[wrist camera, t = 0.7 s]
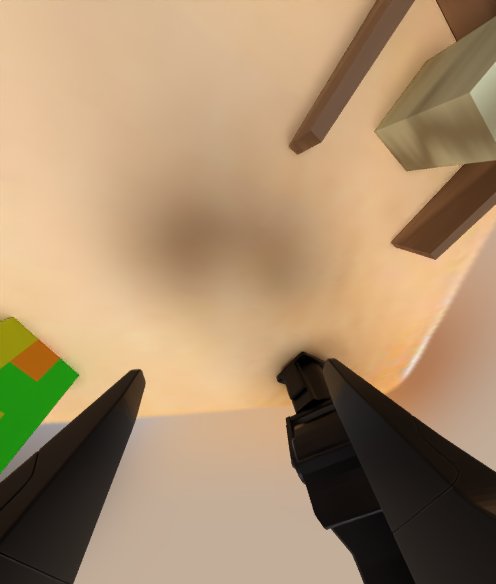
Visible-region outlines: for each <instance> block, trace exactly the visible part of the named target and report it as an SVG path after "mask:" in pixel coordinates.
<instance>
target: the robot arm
mask: <svg viewBox="0 0 496 584" xmlns="http://www.w3.org/2000/svg"><path fill="white" fill-rule="evenodd" d="M277 381H278V382H280V383H283V384H285V385H286V387H287V391H288V394H289V397H290V399H291V400H292V403H293V406H294V409H295V412H296V414H295V415H294V416H291V417H290V416H289V417H287V418H286V424H287V425H286V428H287V435H288V442H289V450H290V456H291V463H292V466H293V468H295V469H296V471H297V473H298V476H299V477H300V479H301V481H302V482H303V483H304V484H306V487H307V490H308V494H309V497H310V500H311V503H312V507H313V510H314V513H315V515H316V517H317V519H318V520H319V521H320V523H321V524H322V526H323V527H324V528H325V529H326V530H327V529H330V528H331V529H332V531H333V532H334V533H335V534H336V535H337V536H338V538H339V539H340V540H341V542H342V543H343V544H344V545H345V546H346V548H347V549H348V550H349V551H350V552H351V554H352V555H353V558H354V560H355V562H356V565H357V567H358V570H359V572H360V575H361V577H362V580H363V582H364V584H496V472H495V471H493V470H492V469H490V468H489V467H487V466H486V465H484V464H483V463H481V462H480V461H478V460H477V459H475V458H474V457H472V456H471V455H469V454H468V453H466V452H465V451H463V450H461V449H460V448H459V447H457V446H456V445H454V444H453V443H451V442H450V441H448V440H447V439H445V438H444V437H442V436H441V435H439V434H438V433H437V432H435V431H434V430H432V429H431V428H429V427H428V426H427V425H425V424H424V423H422V422H421V421H420V420H418V419H417V418H416V417H414V416H412V415H411V414H410V413H409V412H407V411H406V410H405V409H403V408H402V407H401V406H399V405H398V404H397V403H395V402H394V401H392V400H391V399H390V398H388V397H387V396H386V395H384V394H383V393H382V392H380V391H379V390H378V389H376V388H375V387H373V386H372V385H371V384H369V383H368V382H367V381H365V380H364V379H363V378H361V377H360V376H359V375H357V374H356V373H354V372H353V371H352V370H350V369H349V368H348V367H346V366H345V365H344V364H342V363H341V362H339V361H338V360H337V359H335V358H329V359H326V362H324V361H322V360H320V359H318V358H315V357H313V356H311V355H309V354H307V353H304V352H302V353H300V354H299V355H298V356H297V357H296V358H295V359H294V360H293V361H292V362H291V363H290V364H289V366H288V367H287V368H286V369H285V370H284V371H283V372H282V373H281V374H280V375H279V376H278V377H277ZM144 388H145V378H144V375H143V372H142V370H141V369H134V370H131V371H129V372H128V373H127V374H126V375H125V376H123V377H122V378H121V379H120V380H119V381H118V382H116V383H115V384H114V385H113V386H112V387H111V388H110V389H108V390H107V391H106V392H105V393H104V394H103V395H101V396H100V397H99V398H98V399H97V400H96V401H95V402H93V403H92V404H91V405H90V406H89V407H88V408H86V409H85V410H84V411H83V412H82V413H81V414H80V415H78V416H77V417H76V418H75V419H74V420H73V421H71V422H70V423H69V424H68V425H67V426H66V427H65V428H63V429H62V430H61V431H60V432H59V433H58V434H57V435H55V436H54V437H53V438H52V439H51V440H50V441H48V442H47V443H46V444H45V445H44V446H43V447H42V448H40V450H39V451H37V452H36V453H35V454H33V455H32V456H31V457H30V458H29V459H28V460H26V461H25V462H24V463H23V464H22V465H21V466H19V467H18V468H17V469H16V470H15V471H13V472H12V473H11V474H10V475H9V476H8V477H6V478H5V479H4V480H3V481H2V482H0V584H73V583H74V580H75V577H76V575H77V573H78V570H79V567H80V565H81V562H82V559H83V557H84V554H85V552H86V549H87V546H88V544H89V541H90V538H91V536H92V533H93V531H94V528H95V525H96V523H97V520H98V518H99V515H100V513H101V510H102V507H103V504H104V502H105V499H106V497H107V494H108V492H109V489H110V486H111V484H112V481H113V478H114V476H115V473H116V471H117V468H118V466H119V463H120V460H121V458H122V455H123V452H124V450H125V447H126V445H127V442H128V439H129V437H130V434H131V432H132V429H133V426H134V423H135V420H136V417H137V414H138V410H139V406H140V403H141V399H142V395H143V392H144Z"/></svg>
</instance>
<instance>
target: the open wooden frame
mask: <svg viewBox="0 0 496 584" xmlns="http://www.w3.org/2000/svg"><path fill="white" fill-rule="evenodd" d="M414 1H415V0H377V1H376V3H375V4H374V6H373V8H372V9H371V11H370V13H369V14H368V16H367V18H366V19H365V21H364V23H363V24H362V26H361V28H360V29H359V31H358V33H357V34H356V36H355V38H354V39H353V41H352V43H351V44H350V46H349V47H348V49H347V51H346V52H345V54H344V56H343V57H342V59H341V61H340V62H339V64H338V66H337V67H336V69H335V71H334V72H333V74H332V76H331V77H330V79H329V81H328V82H327V84H326V86H325V87H324V89H323V90H322V92H321V94H320V95H319V97H318V99H317V100H316V102H315V104H314V105H313V107H312V109H311V110H310V112H309V114H308V115H307V117H306V119H305V120H304V122H303V124H302V125H301V127H300V128H299V130H298V132H297V133H296V135H295V137H294V138H293V140H292V142H291V143H290V145H289V147H290V148H291V149H292V150H293V151H294V152H295V153H296V154H297V155H298V154H300V153H302V152H303V151H305V150H307V149H309V148H311V147H313V146H315V145H317V144H319V143H320V142H322V141H323V139H324V138H325V136H326V135H327V133H328V131H329V130H330V128H331V127H332V125H333V124H334V122H335V121H336V119H337V118H338V116H339V115H340V113H341V112H342V110H343V109H344V107H345V106H346V104H347V103H348V101H349V100H350V98H351V96H352V95H353V93H354V92H355V90H356V89H357V87H358V86H359V84H360V83H361V81H362V80H363V78H364V77H365V75H366V74H367V72H368V71H369V69H370V68H371V66H372V65H373V63H374V62H375V60H376V58H377V57H378V55H379V54H380V52H381V51H382V49H383V48H384V46H385V45H386V43H387V42H388V40H389V39H390V37H391V36H392V34H393V33H394V31H395V30H396V28H397V27H398V25H399V24H400V22H401V20H402V19H403V17H404V16H405V14H406V13H407V11H408V10H409V8H410V7H411V5H412V4H413V2H414ZM437 2H438V4H439V6H440V8H441V10H442V12H443V14H444V16H445V18H446V20H447V22H448V24H449V26H450V28H451V30H452V32H453V34H454V36H455V38H456V40H457V41H459V40H460V39H462V38H463V37H465V36H466V35H468V34H469V33H471V32H472V31H474V30H476V29H477V28H479V27H480V26H482V25H483V24H485V23H486V22H488V21H489V20H491V19H492V18H494V17H495V16H496V0H437ZM495 204H496V160H493V161H485V162H477V163H468V164H465V165H464V166H463V167H462V168H461V169H460V170H459V171H458V172H457V173H456V174H455V175H454V176H453V177H452V178H451V179H450V181H449V182H448V183H447V184H446V185H445V186H444V187H443V188H442V189H441V190H440V191H439V192H438V193H437V194H436V195H435V196H434V197H433V199H432V200H431V201H430V202H429V203H428V204H427V205H426V206H425V207H424V208H423V209H422V210H421V211H420V212H419V213H418V214H417V215H416V216H415V218H414V219H413V220H412V221H411V222H410V223H409V224H408V225H407V226H406V227H405V228H404V229H403V230H402V231H401V232H400V233H399V234H398V236H397V237H396V238H395V239H394V240H393V241H392V242H391V243H392V244H393V245H394V246H395V247H397V248H400V249H403V250H406V251H409V252H413V253H416V254H419V255H422V256H425V257H428V258H432V259H435V260H436V259H437V258H438V257H439V256H440V255H441V254H443V253H444V252H445V251H446V250H447V249H448V248H449V247H450V246H451V245H452V244H453V243H454V242H456V241H457V240H458V239H459V238H460V237H461V236H462V235H463V234H464V233H465V232H466V231H467V230H468V229H470V228H471V227H472V226H473V225H474V224H475V223H476V222H477V221H478V220H479V219H480V218H481V217H483V216H484V215H485V214H486V213H487V212H488V211H489V210H490V209H491V208H492V207H493V206H494V205H495Z"/></svg>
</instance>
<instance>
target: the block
mask: <svg viewBox="0 0 496 584" xmlns="http://www.w3.org/2000/svg"><path fill="white" fill-rule="evenodd" d="M375 133H376V134H377V136H378V137H379V138H380V139H381V141H382V142H383V143H384V144H385V146H386V147H387V148H388V149H389V150H390V152H391V153H392V154H393V155H394V157H395V158H396V159H397V160H398V162H399V163H400V164H401V165H402V166H403V168H404V169H405V170H406V171H411V170H419V169H428V168H436V167H444V166H452V165H460V164H468V163H477V162H485V161H493V160H496V16H495V17H494V18H492V19H491V20H489V21H488V22H486V23H485V24H483V25H482V26H480V27H479V28H477V29H476V30H474V31H472V32H471V33H469V34H468V35H466V36H465V37H463V38H462V39H460V40H459V41H457V42H456V43H454V44H453V45H451V46H450V47H448V48H446V49H445V50H443V51H442V52H440V53H439V54H437V55H436V56H434V57H433V58H431V59H430V60H428V61H427V62H425V64H424V65H423V67H422V68H421V69H420V71H419V72H418V73H417V75H416V76H415V77H414V79H413V80H412V81H411V83H410V84H409V85H408V87H407V88H406V90H405V91H404V92H403V94H402V95H401V96H400V98H399V99H398V100H397V102H396V103H395V104H394V106H393V107H392V109H391V110H390V111H389V113H388V114H387V115H386V117H385V118H384V119H383V121H382V122H381V123H380V125H379V126H378V128H377V129H376V130H375Z"/></svg>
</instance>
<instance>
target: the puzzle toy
mask: <svg viewBox="0 0 496 584" xmlns="http://www.w3.org/2000/svg"><path fill="white" fill-rule="evenodd" d="M78 376H79V374H77V373H76V372H75V371H74V370H73V369H72V368H71V367H70V366H68V365H67V364H66V363H65V362H64V361H63V360H62V359H60V358H59V357H58V356H57V355H56V354H55V353H54V352H53V351H51V350H50V349H49V348H48V347H47V346H46V345H45V344H43V343H42V342H41V341H40V340H39V339H38V338H37V337H36V336H34V335H33V334H32V333H31V332H30V331H29V330H28V329H26V328H25V327H24V326H23V325H22V324H21V323H20V322H18V321H17V320H16V319H15V318H14V317H11V318H8V319H5V320H2V321H0V474H1V472H2V471H3V470H4V469H5V467H6V466H7V465H8V463H9V462H10V461H11V460H12V459H13V457H14V456H15V455H16V453H17V452H18V451H19V450H20V448H21V447H22V446H23V445H24V444H25V442H26V441H27V440H28V438H29V437H30V436H31V435H32V434H33V432H34V431H35V430H36V429H37V427H38V426H39V425H40V424H41V422H42V421H43V420H44V419H45V417H46V416H47V415H48V414H49V412H50V411H51V410H52V409H53V407H54V406H55V405H56V404H57V402H58V401H59V400H60V399H61V397H62V396H63V395H64V394H65V392H66V391H67V390H68V389H69V387H70V386H71V385H72V384H73V382H74V381H75V380H76V379H77V377H78Z"/></svg>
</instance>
